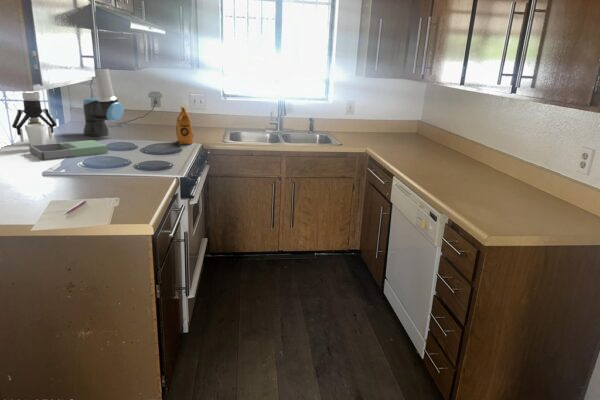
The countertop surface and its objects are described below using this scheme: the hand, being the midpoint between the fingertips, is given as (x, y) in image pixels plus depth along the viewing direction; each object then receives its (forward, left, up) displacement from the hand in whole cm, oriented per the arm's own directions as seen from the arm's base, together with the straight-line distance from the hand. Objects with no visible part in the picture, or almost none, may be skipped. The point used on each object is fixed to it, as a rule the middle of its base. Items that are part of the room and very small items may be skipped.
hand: (36, 140), depth 229 cm
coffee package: (-76, +22, -5) cm, 80 cm away
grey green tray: (-10, +17, -5) cm, 20 cm away
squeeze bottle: (-4, -16, -5) cm, 17 cm away
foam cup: (0, 0, -5) cm, 5 cm away
